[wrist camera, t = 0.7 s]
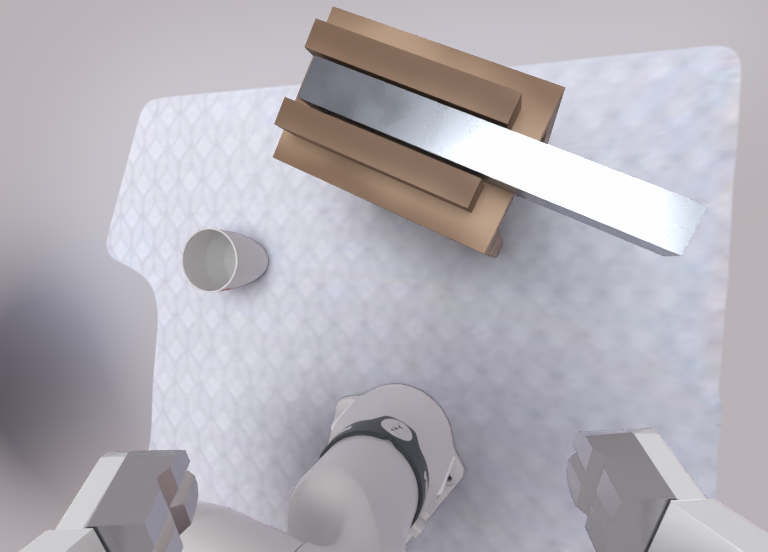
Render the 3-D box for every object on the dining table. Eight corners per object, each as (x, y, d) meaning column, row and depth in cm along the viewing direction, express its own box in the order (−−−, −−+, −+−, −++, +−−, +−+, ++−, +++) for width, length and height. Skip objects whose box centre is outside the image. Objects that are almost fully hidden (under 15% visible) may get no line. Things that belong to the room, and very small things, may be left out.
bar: (663, 256, 28) (681, 255, 25) (315, 111, 34) (297, 97, 31) (688, 212, 28) (708, 205, 25) (331, 72, 34) (314, 55, 31)
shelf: (495, 257, 56) (481, 253, 28) (371, 200, 60) (251, 147, 32) (540, 167, 54) (571, 68, 26) (408, 115, 58) (316, -18, 31)
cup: (220, 269, 67) (171, 270, 57) (244, 222, 66) (198, 215, 56) (261, 298, 65) (218, 305, 56) (287, 250, 64) (247, 249, 54)
